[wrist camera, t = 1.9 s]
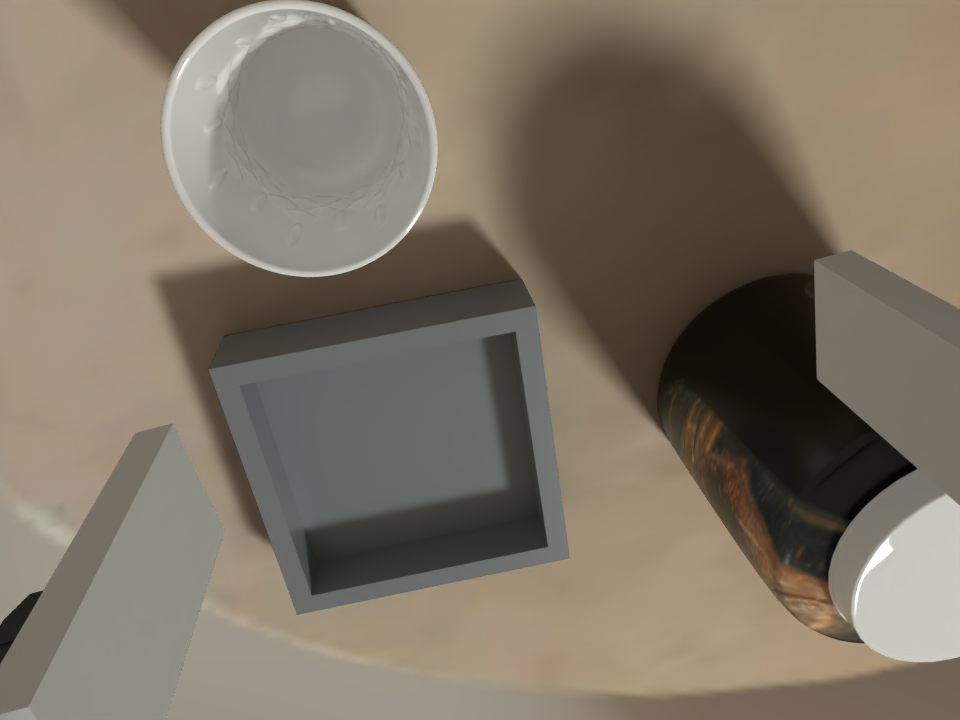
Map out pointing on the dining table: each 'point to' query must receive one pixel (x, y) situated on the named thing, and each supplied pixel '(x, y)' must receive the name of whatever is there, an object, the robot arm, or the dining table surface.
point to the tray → (398, 443)
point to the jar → (811, 478)
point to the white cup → (299, 137)
